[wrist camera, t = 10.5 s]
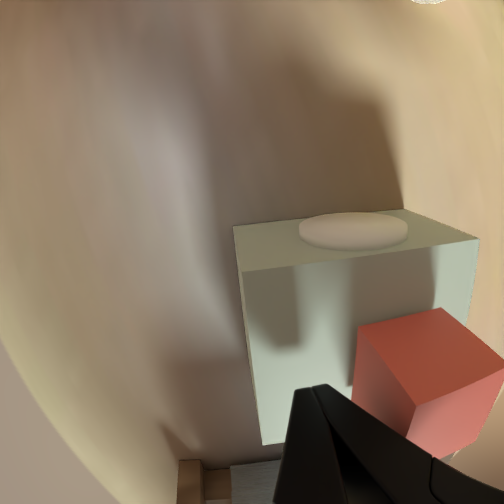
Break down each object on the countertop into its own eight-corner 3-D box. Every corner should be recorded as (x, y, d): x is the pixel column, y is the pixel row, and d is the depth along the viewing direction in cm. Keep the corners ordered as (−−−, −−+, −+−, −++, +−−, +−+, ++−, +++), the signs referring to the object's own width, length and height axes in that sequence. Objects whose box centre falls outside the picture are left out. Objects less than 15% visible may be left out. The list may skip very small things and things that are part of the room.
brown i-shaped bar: (433, 409, 16) (458, 444, 13) (415, 453, 17) (434, 485, 14) (179, 460, 15) (176, 509, 12) (197, 497, 16) (197, 539, 13)
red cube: (425, 379, 8) (474, 441, 6) (350, 401, 8) (389, 479, 5) (440, 306, 8) (509, 365, 5) (357, 326, 8) (416, 406, 5)
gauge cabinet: (394, 337, 14) (445, 397, 9) (249, 365, 13) (262, 445, 9) (404, 201, 12) (480, 228, 7) (231, 217, 11) (239, 258, 7)
